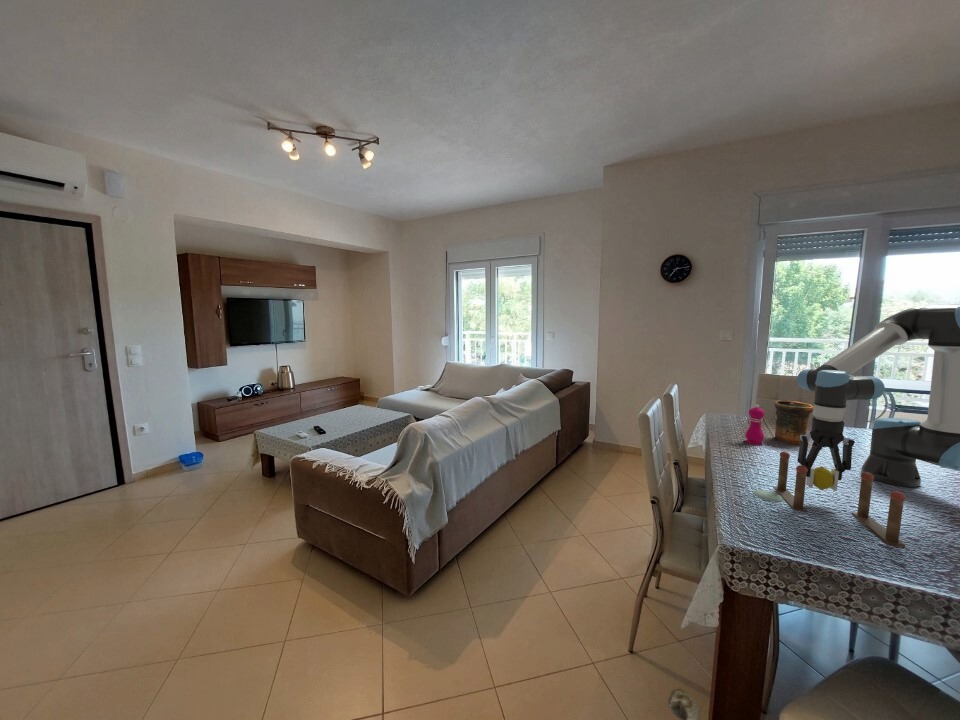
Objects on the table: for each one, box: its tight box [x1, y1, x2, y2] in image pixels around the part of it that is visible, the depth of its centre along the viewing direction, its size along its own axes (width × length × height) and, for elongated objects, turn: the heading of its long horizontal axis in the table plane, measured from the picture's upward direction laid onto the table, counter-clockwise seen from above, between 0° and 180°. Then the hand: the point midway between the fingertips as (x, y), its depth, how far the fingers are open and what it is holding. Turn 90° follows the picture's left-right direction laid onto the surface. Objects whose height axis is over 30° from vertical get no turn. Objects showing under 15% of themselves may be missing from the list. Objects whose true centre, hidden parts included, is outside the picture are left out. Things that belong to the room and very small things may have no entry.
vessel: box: [774, 400, 814, 446], centre depth 180 cm, size 14×14×20 cm
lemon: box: [813, 466, 834, 491], centre depth 122 cm, size 6×6×8 cm
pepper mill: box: [745, 404, 765, 446], centre depth 178 cm, size 7×7×20 cm
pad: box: [753, 489, 784, 503], centre depth 127 cm, size 8×8×1 cm
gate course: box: [773, 451, 906, 548], centre depth 116 cm, size 20×29×15 cm
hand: (821, 487), depth 122 cm, fingers closed on lemon, 5 cm apart
